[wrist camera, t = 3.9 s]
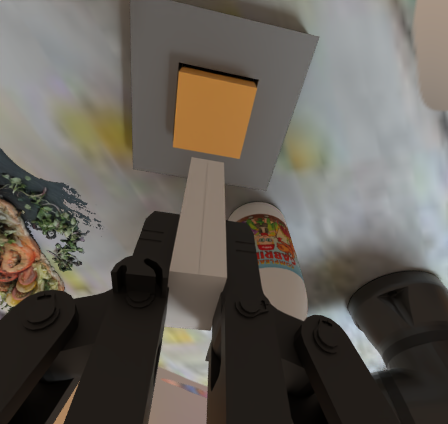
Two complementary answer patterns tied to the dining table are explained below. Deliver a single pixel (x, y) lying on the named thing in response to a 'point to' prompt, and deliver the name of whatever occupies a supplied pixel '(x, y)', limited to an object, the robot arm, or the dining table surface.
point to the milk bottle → (275, 258)
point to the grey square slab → (221, 61)
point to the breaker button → (212, 112)
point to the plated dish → (22, 239)
